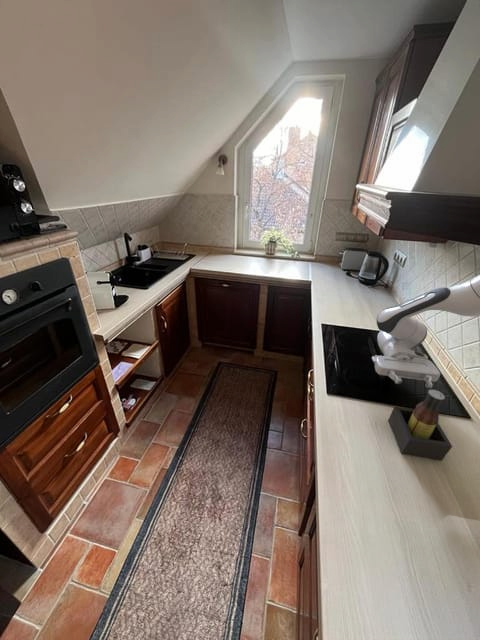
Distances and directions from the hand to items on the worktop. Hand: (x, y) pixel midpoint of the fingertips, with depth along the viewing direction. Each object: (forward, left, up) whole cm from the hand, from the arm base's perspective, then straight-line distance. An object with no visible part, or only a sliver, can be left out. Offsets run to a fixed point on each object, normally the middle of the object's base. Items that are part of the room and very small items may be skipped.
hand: (414, 384), depth 84 cm
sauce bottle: (0, +11, -14) cm, 17 cm away
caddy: (0, +11, -13) cm, 17 cm away
